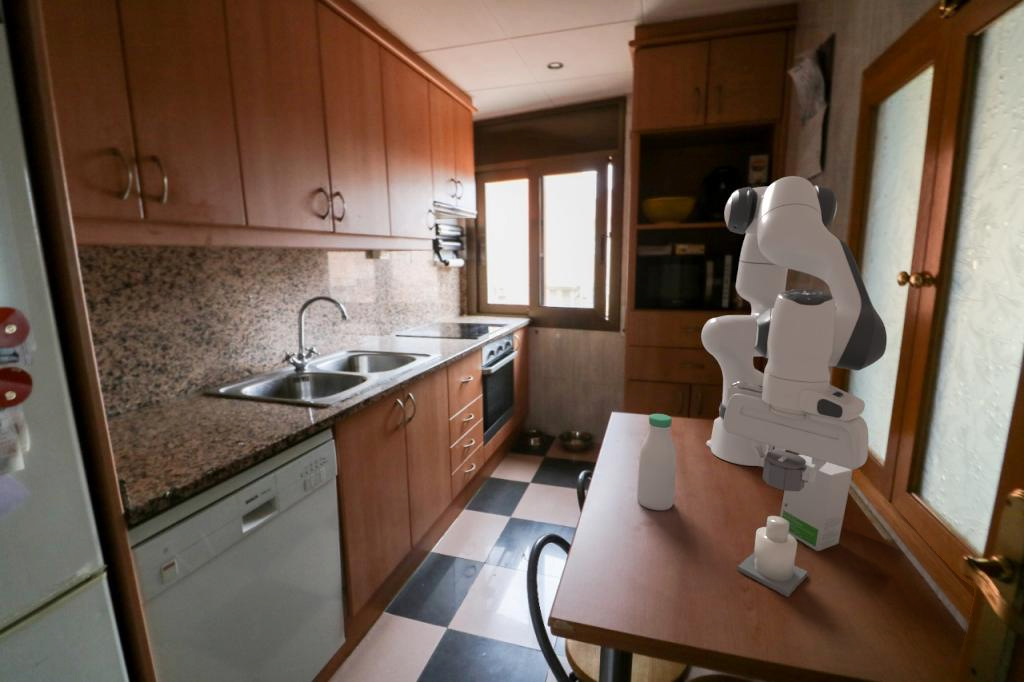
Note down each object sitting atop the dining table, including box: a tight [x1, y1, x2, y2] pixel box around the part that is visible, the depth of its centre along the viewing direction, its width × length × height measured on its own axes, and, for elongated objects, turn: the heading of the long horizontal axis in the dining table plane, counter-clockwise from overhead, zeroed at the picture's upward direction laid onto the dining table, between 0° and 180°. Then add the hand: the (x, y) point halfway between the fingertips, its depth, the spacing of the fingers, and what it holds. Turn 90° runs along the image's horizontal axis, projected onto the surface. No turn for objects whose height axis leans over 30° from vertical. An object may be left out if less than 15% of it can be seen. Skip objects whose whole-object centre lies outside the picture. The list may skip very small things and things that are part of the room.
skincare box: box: [779, 454, 853, 552], centre depth 86 cm, size 8×7×16 cm
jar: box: [737, 515, 808, 598], centre depth 76 cm, size 8×8×10 cm
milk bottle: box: [636, 413, 677, 511], centre depth 98 cm, size 8×8×20 cm
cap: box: [762, 451, 807, 491], centre depth 74 cm, size 6×6×5 cm
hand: (784, 473), depth 74 cm, fingers closed on cap, 5 cm apart
